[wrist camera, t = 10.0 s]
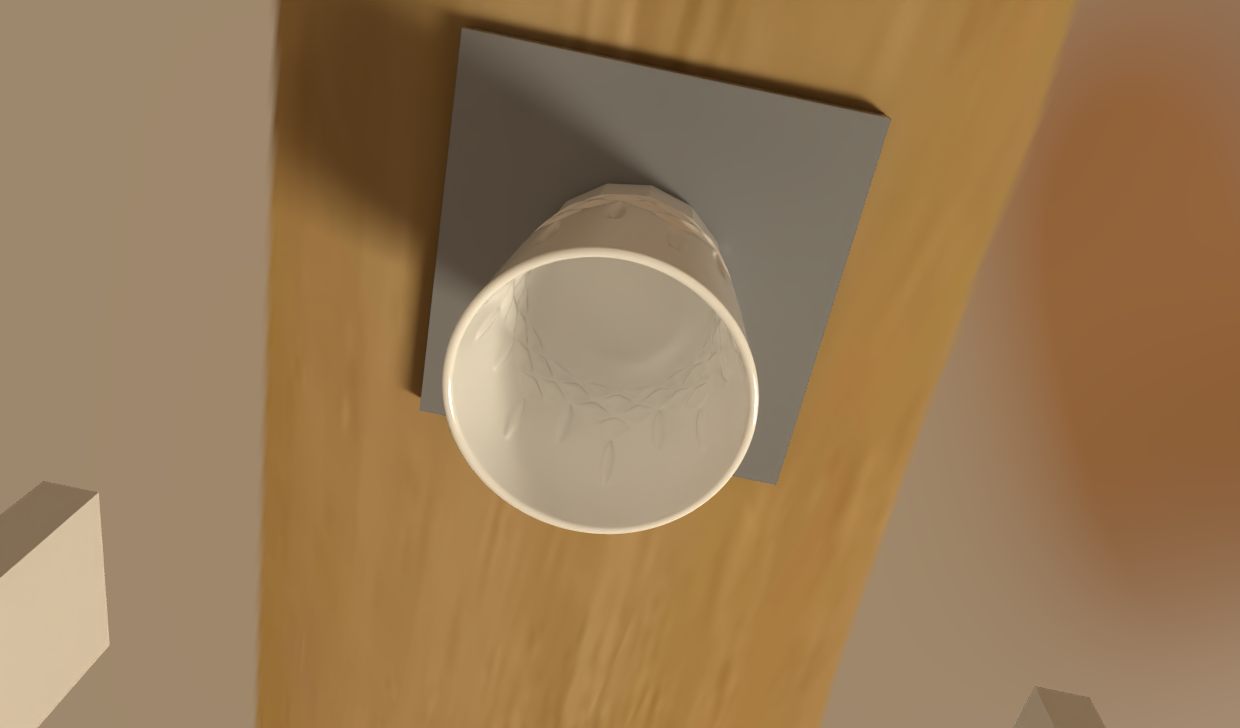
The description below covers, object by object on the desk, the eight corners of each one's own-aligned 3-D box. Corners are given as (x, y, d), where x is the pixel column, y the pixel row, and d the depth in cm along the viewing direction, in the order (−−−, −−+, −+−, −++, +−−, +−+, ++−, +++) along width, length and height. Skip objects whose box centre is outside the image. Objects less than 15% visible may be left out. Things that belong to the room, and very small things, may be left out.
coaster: (467, 26, 29) (461, 27, 28) (886, 114, 29) (891, 118, 28) (425, 401, 34) (419, 410, 34) (774, 474, 34) (776, 484, 34)
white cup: (542, 136, 29) (471, 208, 20) (770, 199, 29) (803, 298, 20) (497, 347, 32) (419, 492, 23) (703, 401, 33) (706, 566, 23)
